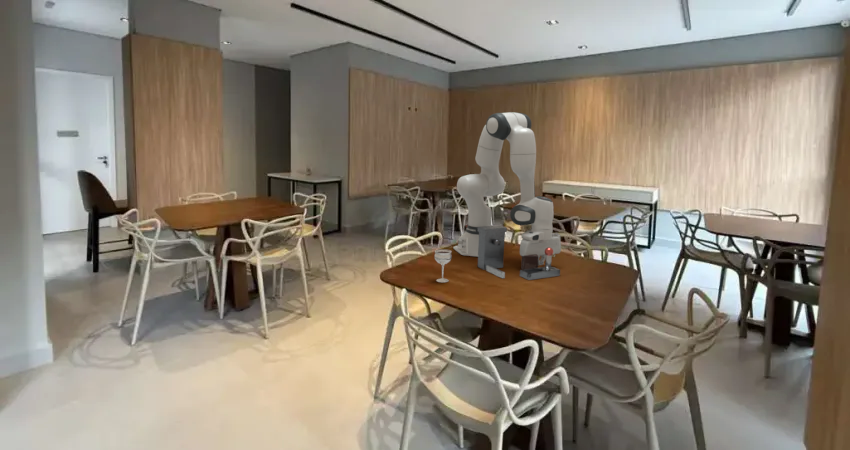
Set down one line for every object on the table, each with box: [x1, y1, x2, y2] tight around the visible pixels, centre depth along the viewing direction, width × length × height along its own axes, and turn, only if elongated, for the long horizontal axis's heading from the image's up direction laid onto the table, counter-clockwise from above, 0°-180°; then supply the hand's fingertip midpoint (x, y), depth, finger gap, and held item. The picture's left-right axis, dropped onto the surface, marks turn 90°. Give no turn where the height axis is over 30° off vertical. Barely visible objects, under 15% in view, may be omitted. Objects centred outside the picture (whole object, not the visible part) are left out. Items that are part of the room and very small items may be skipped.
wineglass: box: [434, 248, 453, 283], centre depth 188 cm, size 7×7×12 cm
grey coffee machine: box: [477, 224, 508, 279], centre depth 202 cm, size 19×11×18 cm, turn 25°
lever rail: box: [519, 265, 561, 281], centre depth 198 cm, size 6×16×3 cm, turn 115°
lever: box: [542, 247, 554, 271], centre depth 198 cm, size 4×4×10 cm
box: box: [520, 254, 539, 270], centre depth 205 cm, size 6×6×7 cm
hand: (539, 264), depth 209 cm, fingers closed
